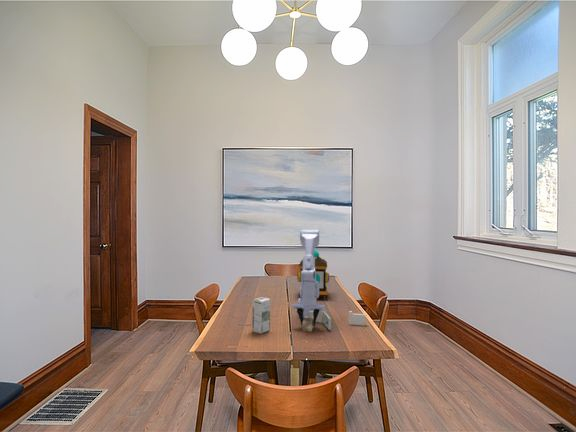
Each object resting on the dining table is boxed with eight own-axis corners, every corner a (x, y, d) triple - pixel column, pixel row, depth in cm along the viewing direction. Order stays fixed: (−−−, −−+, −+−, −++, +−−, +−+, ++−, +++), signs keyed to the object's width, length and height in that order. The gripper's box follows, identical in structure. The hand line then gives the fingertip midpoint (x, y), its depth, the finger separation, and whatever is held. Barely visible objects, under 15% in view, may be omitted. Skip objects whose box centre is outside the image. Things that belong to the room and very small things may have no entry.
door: (320, 321, 162) (320, 311, 162) (324, 321, 162) (324, 311, 162) (326, 330, 151) (326, 318, 151) (330, 329, 151) (331, 318, 151)
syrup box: (261, 327, 155) (261, 296, 155) (270, 330, 151) (270, 298, 151) (252, 331, 151) (252, 299, 150) (261, 334, 147) (261, 301, 147)
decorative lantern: (329, 293, 219) (329, 247, 219) (329, 301, 200) (330, 250, 199) (298, 292, 221) (298, 246, 221) (296, 300, 202) (296, 250, 201)
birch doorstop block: (302, 331, 151) (302, 321, 151) (305, 325, 159) (305, 315, 159) (311, 332, 150) (311, 322, 150) (313, 325, 158) (313, 316, 158)
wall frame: (308, 321, 163) (308, 309, 163) (309, 320, 165) (309, 308, 165) (365, 325, 158) (365, 313, 158) (365, 324, 159) (365, 312, 159)
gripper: (291, 296, 152) (291, 326, 152) (323, 298, 149) (323, 329, 149) (294, 293, 159) (294, 321, 159) (324, 294, 156) (324, 323, 156)
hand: (308, 325), depth 155 cm, fingers open, 5 cm apart
